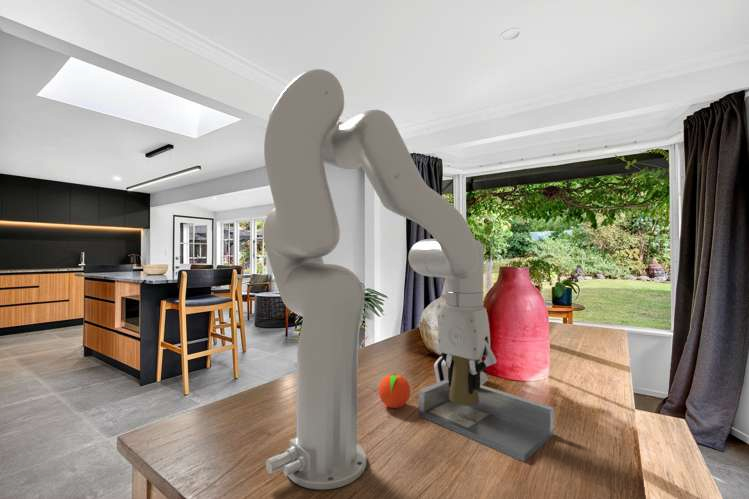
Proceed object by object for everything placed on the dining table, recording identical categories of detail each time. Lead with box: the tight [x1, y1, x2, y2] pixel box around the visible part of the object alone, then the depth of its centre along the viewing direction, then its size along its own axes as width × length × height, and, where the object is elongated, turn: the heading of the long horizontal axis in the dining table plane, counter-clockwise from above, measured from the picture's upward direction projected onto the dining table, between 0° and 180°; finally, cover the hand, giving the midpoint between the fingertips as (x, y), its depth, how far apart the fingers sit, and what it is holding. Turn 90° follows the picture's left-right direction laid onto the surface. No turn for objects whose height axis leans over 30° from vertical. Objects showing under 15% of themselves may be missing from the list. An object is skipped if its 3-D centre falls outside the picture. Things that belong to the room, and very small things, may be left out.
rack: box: [417, 379, 555, 463], centre depth 70 cm, size 13×22×5 cm, turn 44°
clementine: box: [378, 373, 411, 409], centre depth 77 cm, size 8×7×7 cm
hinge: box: [433, 356, 489, 385], centre depth 90 cm, size 17×5×10 cm, turn 137°
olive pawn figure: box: [449, 355, 479, 405], centre depth 73 cm, size 6×6×11 cm
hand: (463, 387), depth 73 cm, fingers closed on olive pawn figure, 3 cm apart
